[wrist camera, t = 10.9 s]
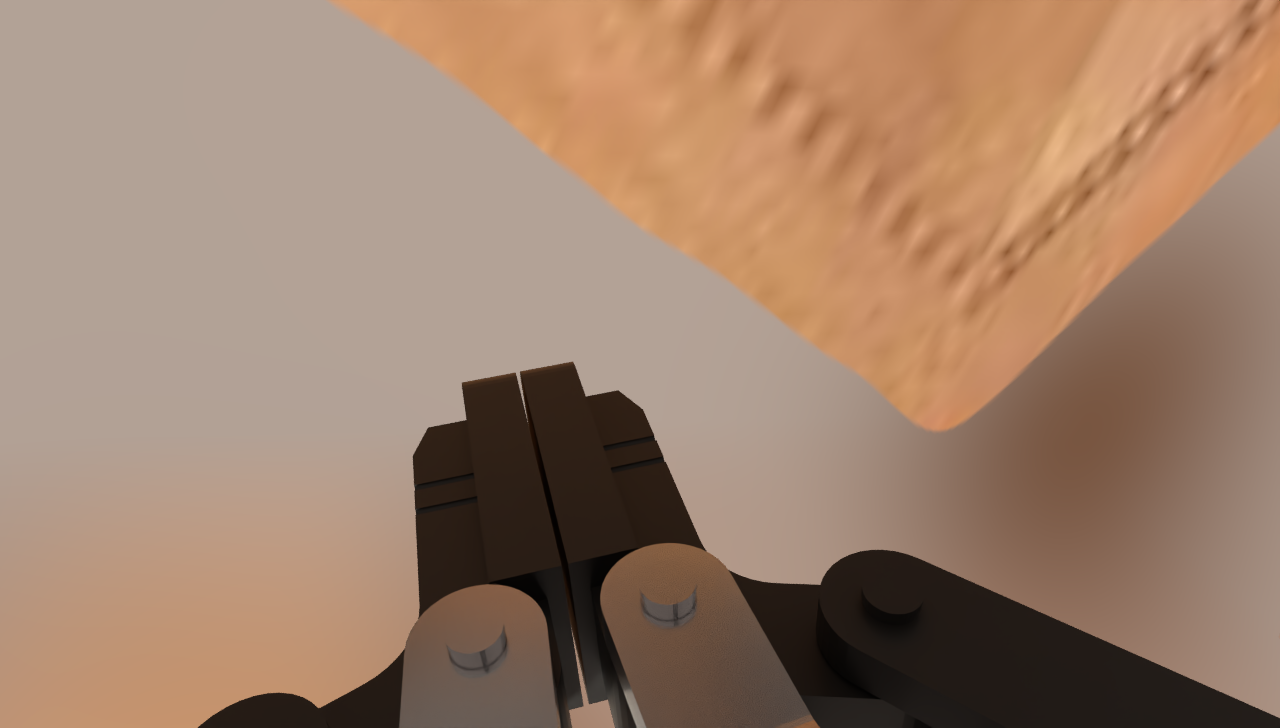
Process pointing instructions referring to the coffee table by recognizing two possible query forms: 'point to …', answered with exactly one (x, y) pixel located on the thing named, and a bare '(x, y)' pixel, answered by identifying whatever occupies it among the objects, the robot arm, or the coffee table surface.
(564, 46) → the coffee table surface
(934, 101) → the coffee table surface
